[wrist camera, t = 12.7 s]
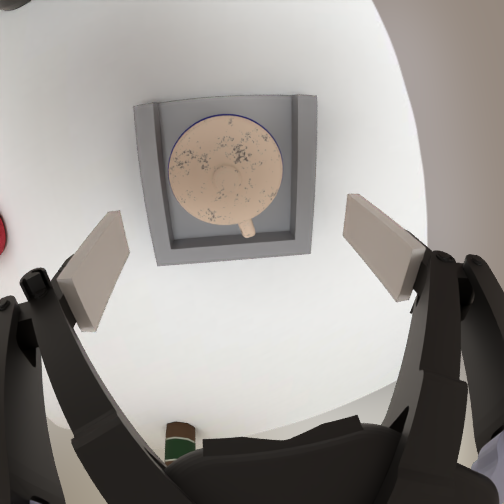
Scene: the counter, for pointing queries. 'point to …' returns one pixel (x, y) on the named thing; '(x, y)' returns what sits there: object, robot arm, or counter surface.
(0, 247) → the wine bottle
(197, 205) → the teacup with lid
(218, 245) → the shallow gray tray
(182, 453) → the beer bottle
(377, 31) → the counter surface
